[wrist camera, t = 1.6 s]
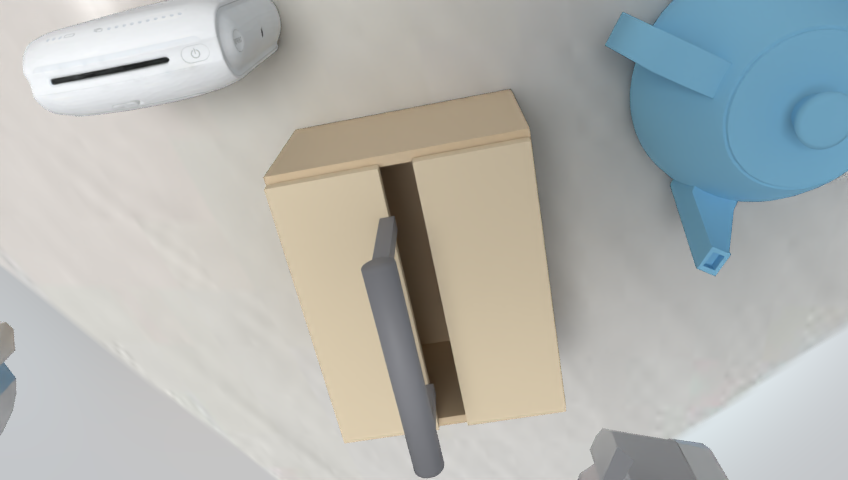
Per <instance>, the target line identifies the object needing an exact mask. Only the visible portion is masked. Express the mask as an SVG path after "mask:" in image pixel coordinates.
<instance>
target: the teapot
mask: <svg viewBox="0 0 848 480" xmlns="http://www.w3.org/2000/svg"><path fill="white" fill-rule="evenodd" d="M605 46H607V47H609V48H610V49H612V50H614V51H616V52H617V53H619V54H621V55H623V56H625V57H626V58H628V59H630V60H632V61H634V62H635V67H634V70H633V74H632V80H631V88H630V109H631V116H632V121H633V125H634V128H635V132H636V134H637V137H638V139H639V141H640V143H641V145H642V147H643V148H644V150H645V152H646V153H647V155H648V156H649V157H650V158H651V159H652V161H653V162H654V163H655V164H656V165H657V166H658V167H659V168H660V169H661V170H663V171H664V172H665V173H666V174H667V175H669V176H670V177H671V178H672V179H673V180H672V182H671V185H670V187H671V190H672V193H673V196H674V199H675V202H676V206H677V209H678V212H679V215H680V218H681V222H682V225H683V228H684V231H685V234H686V237H687V241H688V244H689V247H690V250H691V253H692V256H693V260H694V263H695V266H696V268H697V269H699V270H702V271H704V272H707V273H709V274H712V275H714V276H716V274H717V273H718V272H719V270H720V269H721V268H722V266H723V265H724V263H725V262H726V261H727V259H728V258H729V256H730V255H731V254H730V252H729V250H730V240H731V231H732V221H733V212H734V208H735V206H736V204H737V202H738V201H744V202H762V201H771V200H777V199H782V198H787V197H791V196H795V195H798V194H801V193H804V192H807V191H810V190H813V189H815V188H818V187H820V186H822V185H824V184H826V183H829V182H831V181H832V180H834V179H836V178H838V177H839V176H841V175H843V174H844V173H845V172H847V171H848V0H673V1H672V2H671V3H670V4H669V5H668V6H667V8H666V9H665V10H664V11H663V12H662V13H661V15H660V16H659V18H658V19H657V20H656V22H655V23H654V25H653V26H652V25H650V24H648V23H646V22H643V21H641V20H639V19H637V18H635V17H633V16H630V15H628V14H626V13H624V12H622V14H621V16H620V18H619V20H618V21H617V23H616V25H615V27H614V29H613V31H612V33H611V35H610V37H609V39H608V40H607V42H606V44H605Z"/></svg>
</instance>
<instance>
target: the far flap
mask: <svg viewBox="0 0 848 480" xmlns="http://www.w3.org/2000/svg"><path fill="white" fill-rule="evenodd" d="M264 191H265V194H266V197H267V201H268V204H269V207H270V210H271V213H272V216H273V219H274V223H275V226H276V229H277V232H278V235H279V238H280V242H281V245H282V248H283V251H284V254H285V257H286V260H287V264H288V267H289V270H290V273H291V276H292V279H293V282H294V286H295V289H296V292H297V295H298V298H299V301H300V305H301V308H302V311H303V314H304V317H305V320H306V323H307V327H308V330H309V333H310V336H311V339H312V342H313V346H314V349H315V352H316V355H317V358H318V361H319V364H320V368H321V371H322V374H323V377H324V380H325V383H326V387H327V390H328V393H329V396H330V399H331V402H332V405H333V409H334V412H335V415H336V418H337V421H338V424H339V427H340V431H341V434H342V437H343V440H344V443H350V442H357V441H364V440H371V439H378V438H385V437H392V436H399V435H405V438H406V441H407V445H408V449H409V453H410V456H411V460H412V464H413V468H414V471H415V473H416V475H417V476H419V477H421V478H432V477H435V476H437V475H438V474H439V473H441V471H442V470H443V468H444V461H443V456H442V452H441V448H440V444H439V440H438V435H437V431H436V430H439V420H438V415H437V411H436V393H435V388H434V384H430V381H429V377H428V373H427V369H426V364H425V360H424V356H423V352H422V347H421V343H420V339H419V335H418V330H417V326H416V322H415V318H414V313H413V309H412V305H411V301H410V296H409V292H408V288H407V284H406V279H405V275H404V271H403V267H402V262H401V258H400V254H399V249H398V245H397V241H396V239H397V230H398V229H397V225H396V221H395V216H391V215H390V211H389V207H388V203H387V198H386V194H385V190H384V186H383V181H382V177H381V173H380V169H379V164H378V165H372V166H367V167H361V168H356V169H350V170H345V171H339V172H334V173H329V174H323V175H318V176H312V177H307V178H301V179H296V180H290V181H285V182H279V183H274V184H269V185H267V186H266V187H265V189H264Z"/></svg>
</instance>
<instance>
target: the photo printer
mask: <svg viewBox="0 0 848 480" xmlns="http://www.w3.org/2000/svg"><path fill="white" fill-rule="evenodd" d="M280 31H281V21H280V16H279V13H278V10H277V8H276V7H275V5H274V4H273V2H272V1H271V0H169V1H164V2H159V3H155V4H151V5H146V6H142V7H138V8H134V9H130V10H126V11H122V12H119V13H115V14H112V15H108V16H105V17H101V18H98V19H94V20H91V21H87V22H84V23H80V24H77V25H73V26H69V27H66V28H62V29H59V30H55V31H52V32H50V33H47V34H45V35H43V36H41V37H39V38H37V39H35V40H34V41H32V42H31V43H30V44H29V45H28V46H27V48H26V50H25V52H24V55H23V72H24V75H25V77H26V78H27V80H28V81H29V83H30V86H31V88H32V92H33V97H34V99H35V100H36V101H37V102H38V103H39V104H40V105H41V106H42V107H43V108H45V109H46V110H48V111H49V112H52V113H55V114H61V115H72V116H91V115H101V114H108V113H116V112H123V111H129V110H135V109H141V108H146V107H152V106H157V105H161V104H167V103H171V102H176V101H180V100H184V99H188V98H192V97H196V96H200V95H203V94H207V93H209V92H212V91H215V90H218V89H221V88H223V87H226V86H229V85H231V84H233V83H235V82H237V81H239V80H240V79H242V78H243V77H244V76H246V75H247V74H248V73H249V72H251V71H252V70H253V69H254V68H255V67H256V66H258V65H259V64H260V63H262V62H263V61H264V60H265V59H266V58H268V57H269V56H270V55H272V54H273V53H274V52H275V51H277V49H278V45H277V40H278V38H279V35H280Z"/></svg>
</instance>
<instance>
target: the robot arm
mask: <svg viewBox="0 0 848 480" xmlns="http://www.w3.org/2000/svg"><path fill="white" fill-rule="evenodd" d="M14 351H15V344H14V331H13V328H12V327H10V326H9V325H8V324H7V323H6V322H2V321H0V435H1V434H2V432H3V430H4V428H5V426H6V424H7V422H8V420H9V418H10V416H11V413H12V411H13V407H14V402H15V396H16V378H15V376H14V375H13V374H12V373H11V371H10V370H9V369H8V367H7V366H6V365H5V363H4V361H5V360H6V359H7V358H8V357H9V356H10V355H11V354H12V353H13V352H14ZM590 452H591V455H592V458H593V461H594V464H593V465H592V466H590V467H589V468H587V469H586V470H584V471H583V472H581V473H580V475H579V478H578V480H728V478H727V476H726V475H725V473H724V471H723V469H722V468H721V466H720V464H719V463H718V461H717V459H716V458H715V456H714V454H713V452H712V451H711V450H710V449H709V448H708V447H707V446H705V445H704V444H702V443H696V442H689V441H683V440H676V439H662V438H656V437H650V436H644V435H638V434H633V433H627V432H621V431H615V430H609V429H602V430H601V431H600V432H599V433H598V434H597V435H596V437H595V439H594V442H593V444H592V446H591V448H590Z"/></svg>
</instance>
